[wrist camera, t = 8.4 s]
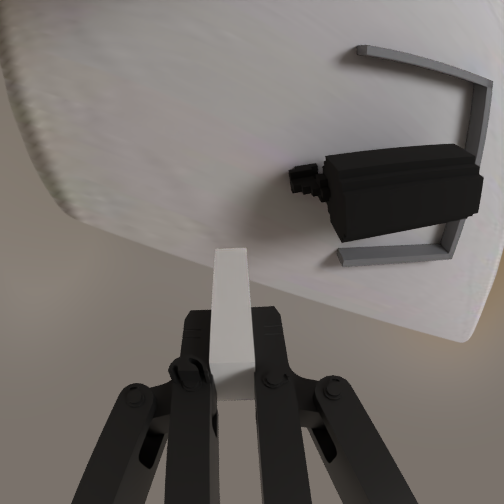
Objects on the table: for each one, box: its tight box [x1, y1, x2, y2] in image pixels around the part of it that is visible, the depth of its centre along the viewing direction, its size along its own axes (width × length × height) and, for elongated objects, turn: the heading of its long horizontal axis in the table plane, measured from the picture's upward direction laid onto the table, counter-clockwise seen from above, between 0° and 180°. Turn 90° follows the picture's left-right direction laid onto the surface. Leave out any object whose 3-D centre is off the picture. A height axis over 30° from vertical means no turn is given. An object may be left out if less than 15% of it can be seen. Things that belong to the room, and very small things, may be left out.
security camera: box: [289, 144, 484, 243], centre depth 28 cm, size 7×18×10 cm, turn 101°
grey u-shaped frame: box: [337, 45, 493, 267], centre depth 30 cm, size 25×17×2 cm
